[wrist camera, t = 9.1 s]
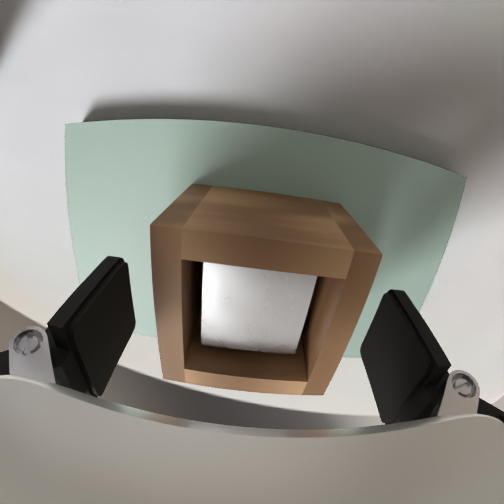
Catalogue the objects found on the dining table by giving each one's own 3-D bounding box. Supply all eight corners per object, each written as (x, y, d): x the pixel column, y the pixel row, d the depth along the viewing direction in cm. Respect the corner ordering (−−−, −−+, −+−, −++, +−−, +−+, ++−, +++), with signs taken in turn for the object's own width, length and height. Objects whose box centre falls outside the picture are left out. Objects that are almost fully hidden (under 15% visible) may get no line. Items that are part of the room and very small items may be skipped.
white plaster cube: (301, 229, 12) (317, 275, 9) (287, 296, 14) (294, 354, 10) (220, 218, 12) (203, 262, 9) (215, 287, 14) (201, 344, 10)
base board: (450, 171, 12) (466, 177, 11) (388, 342, 17) (394, 357, 16) (81, 122, 12) (65, 124, 10) (98, 309, 17) (89, 322, 16)
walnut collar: (339, 203, 12) (382, 254, 7) (309, 319, 15) (322, 395, 10) (192, 183, 12) (149, 224, 7) (188, 305, 14) (163, 378, 10)
